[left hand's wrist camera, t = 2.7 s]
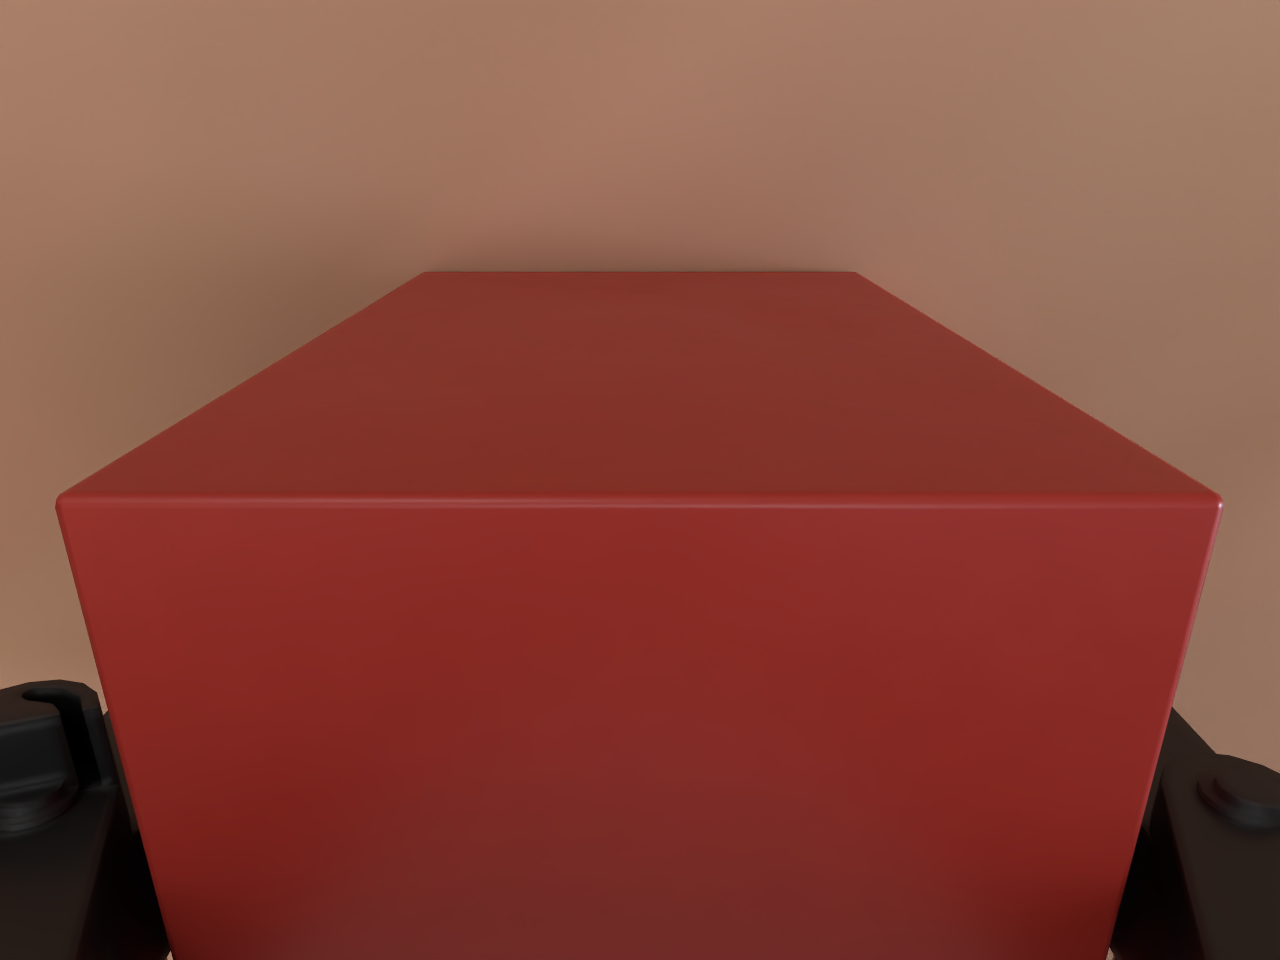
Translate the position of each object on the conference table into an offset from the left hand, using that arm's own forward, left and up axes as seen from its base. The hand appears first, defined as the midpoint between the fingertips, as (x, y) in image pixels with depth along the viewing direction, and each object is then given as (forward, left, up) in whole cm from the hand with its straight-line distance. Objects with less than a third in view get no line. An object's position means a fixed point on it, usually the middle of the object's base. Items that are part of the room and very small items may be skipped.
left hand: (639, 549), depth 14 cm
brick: (0, 0, -2) cm, 2 cm away
